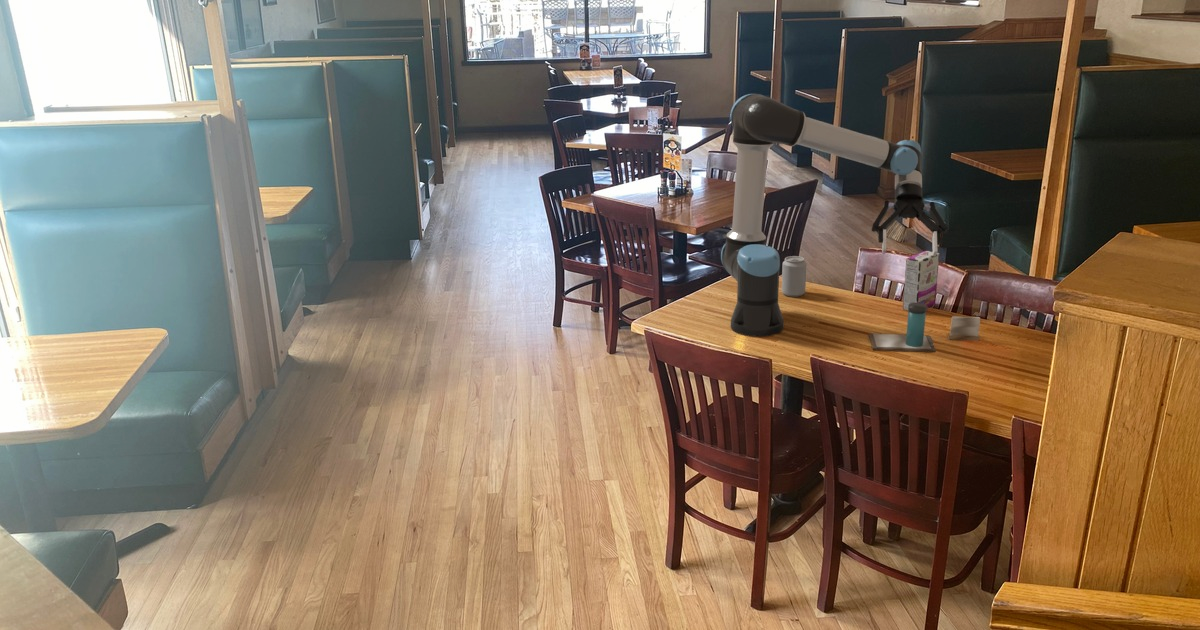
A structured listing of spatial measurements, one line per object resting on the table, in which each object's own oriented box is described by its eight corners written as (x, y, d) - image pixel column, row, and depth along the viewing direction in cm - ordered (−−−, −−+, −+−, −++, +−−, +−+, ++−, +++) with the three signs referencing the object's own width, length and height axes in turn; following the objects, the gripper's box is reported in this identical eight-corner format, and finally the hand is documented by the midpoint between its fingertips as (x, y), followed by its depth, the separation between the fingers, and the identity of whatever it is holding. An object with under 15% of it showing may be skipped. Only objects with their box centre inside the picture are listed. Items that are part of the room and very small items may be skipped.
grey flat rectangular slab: (872, 350, 234) (873, 344, 233) (868, 335, 244) (869, 330, 243) (935, 352, 231) (936, 346, 230) (928, 337, 241) (929, 331, 240)
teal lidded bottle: (906, 346, 233) (909, 308, 229) (904, 340, 237) (907, 302, 234) (924, 347, 232) (928, 308, 229) (921, 341, 236) (925, 302, 233)
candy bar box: (920, 301, 270) (925, 250, 264) (935, 304, 266) (940, 252, 260) (901, 309, 263) (905, 257, 257) (916, 313, 259) (921, 260, 254)
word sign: (948, 339, 239) (951, 317, 237) (947, 337, 240) (950, 315, 238) (979, 340, 237) (982, 318, 235) (978, 338, 239) (981, 316, 237)
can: (781, 297, 278) (783, 261, 274) (781, 290, 285) (782, 254, 281) (805, 297, 276) (807, 261, 272) (804, 290, 283) (806, 255, 279)
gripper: (951, 197, 253) (953, 261, 245) (862, 195, 258) (861, 257, 249) (956, 183, 247) (959, 248, 238) (865, 180, 251) (864, 244, 243)
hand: (909, 253), depth 244 cm, fingers open, 13 cm apart
